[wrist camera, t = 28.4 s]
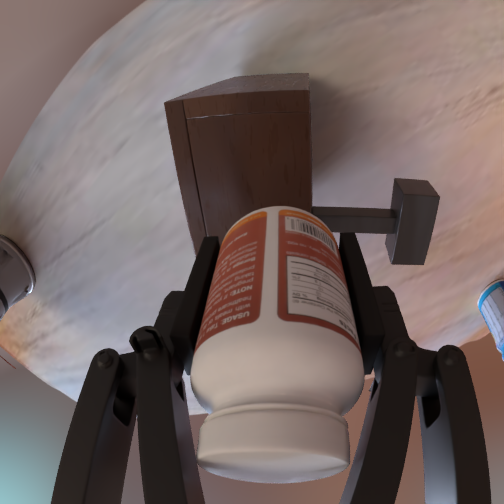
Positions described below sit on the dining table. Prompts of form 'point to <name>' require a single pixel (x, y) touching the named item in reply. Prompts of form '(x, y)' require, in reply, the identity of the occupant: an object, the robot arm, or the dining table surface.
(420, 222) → the brown wooden box
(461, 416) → the robot arm
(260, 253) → the pill bottle
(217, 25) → the dining table surface
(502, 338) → the beverage bottle
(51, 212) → the dining table surface
